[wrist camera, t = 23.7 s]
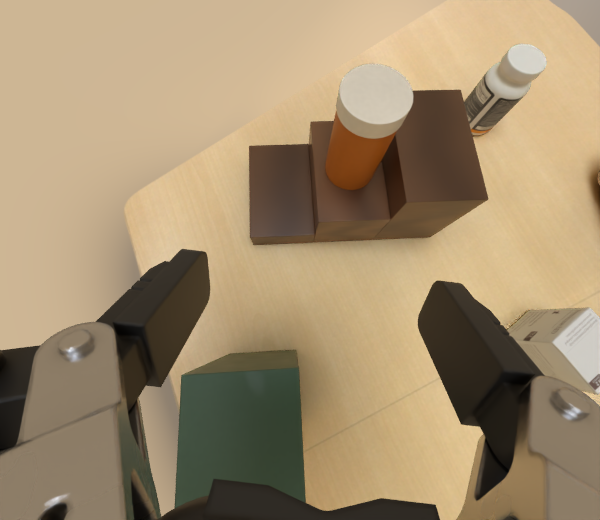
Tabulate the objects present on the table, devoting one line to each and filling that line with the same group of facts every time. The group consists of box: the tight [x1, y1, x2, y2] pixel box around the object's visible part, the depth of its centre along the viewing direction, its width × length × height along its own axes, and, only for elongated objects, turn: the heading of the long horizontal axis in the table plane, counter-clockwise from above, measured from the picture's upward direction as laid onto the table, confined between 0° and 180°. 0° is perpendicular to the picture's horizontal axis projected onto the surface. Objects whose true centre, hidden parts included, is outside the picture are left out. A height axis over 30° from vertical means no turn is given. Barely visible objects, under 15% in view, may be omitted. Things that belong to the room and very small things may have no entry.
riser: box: [249, 90, 488, 245], centre depth 31 cm, size 24×13×11 cm, turn 93°
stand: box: [175, 350, 306, 508], centre depth 24 cm, size 8×8×14 cm
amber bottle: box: [325, 64, 413, 190], centre depth 25 cm, size 6×6×10 cm
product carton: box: [507, 308, 600, 395], centre depth 29 cm, size 6×6×7 cm
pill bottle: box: [464, 44, 547, 135], centre depth 36 cm, size 6×6×10 cm
